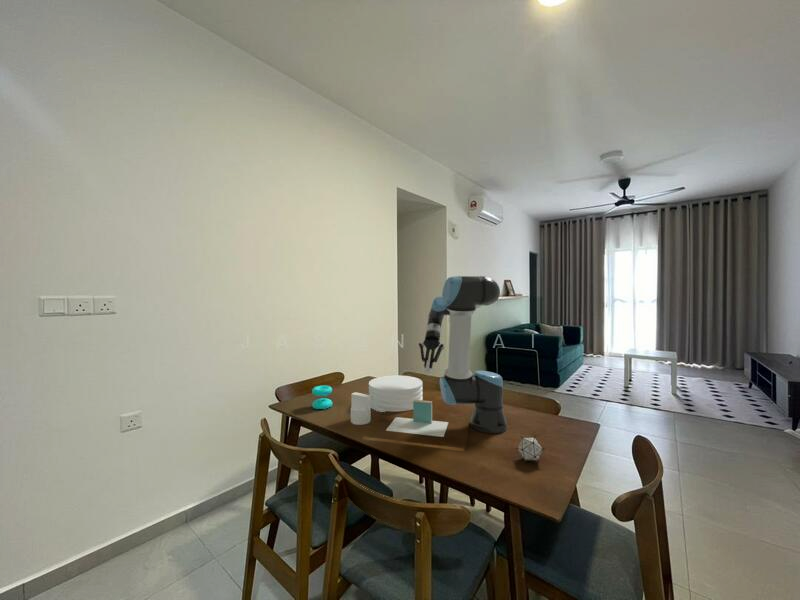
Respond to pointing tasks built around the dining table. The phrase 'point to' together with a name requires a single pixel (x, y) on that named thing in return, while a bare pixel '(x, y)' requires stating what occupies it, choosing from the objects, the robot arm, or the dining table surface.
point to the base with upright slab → (360, 408)
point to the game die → (530, 448)
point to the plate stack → (394, 393)
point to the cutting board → (418, 427)
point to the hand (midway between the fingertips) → (427, 373)
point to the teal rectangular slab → (422, 411)
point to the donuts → (322, 402)
